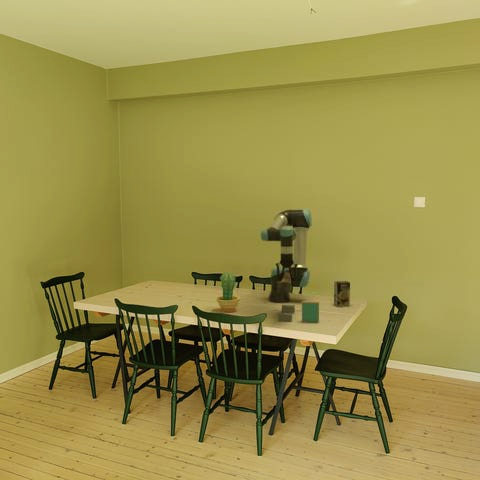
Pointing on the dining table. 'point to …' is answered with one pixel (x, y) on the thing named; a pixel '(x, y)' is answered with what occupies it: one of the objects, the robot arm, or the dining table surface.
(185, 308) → the dining table surface
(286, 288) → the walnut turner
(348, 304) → the coffee box
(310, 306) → the green rectangular panel
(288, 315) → the tool rack
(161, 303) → the dining table surface
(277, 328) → the dining table surface
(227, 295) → the potted cactus
